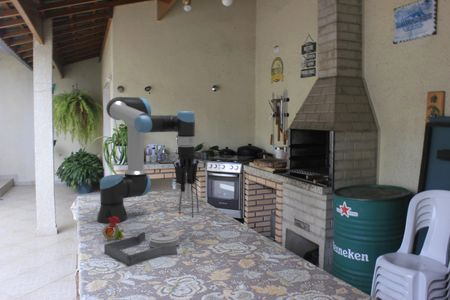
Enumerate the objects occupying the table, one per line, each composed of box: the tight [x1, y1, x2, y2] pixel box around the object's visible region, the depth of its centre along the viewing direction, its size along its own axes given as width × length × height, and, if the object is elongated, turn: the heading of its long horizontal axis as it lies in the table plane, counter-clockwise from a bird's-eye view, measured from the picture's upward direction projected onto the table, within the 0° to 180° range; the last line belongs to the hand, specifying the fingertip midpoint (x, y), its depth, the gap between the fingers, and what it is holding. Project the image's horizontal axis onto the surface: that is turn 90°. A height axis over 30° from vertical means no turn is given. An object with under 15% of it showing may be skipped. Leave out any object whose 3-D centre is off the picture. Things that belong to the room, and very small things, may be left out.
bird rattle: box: [102, 216, 124, 242], centre depth 168 cm, size 6×11×9 cm
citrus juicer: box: [178, 171, 200, 218], centre depth 210 cm, size 11×10×30 cm
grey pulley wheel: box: [148, 231, 180, 248], centre depth 162 cm, size 13×13×5 cm
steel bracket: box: [104, 231, 178, 267], centre depth 153 cm, size 24×21×4 cm
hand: (186, 198), depth 169 cm, fingers open, 2 cm apart
